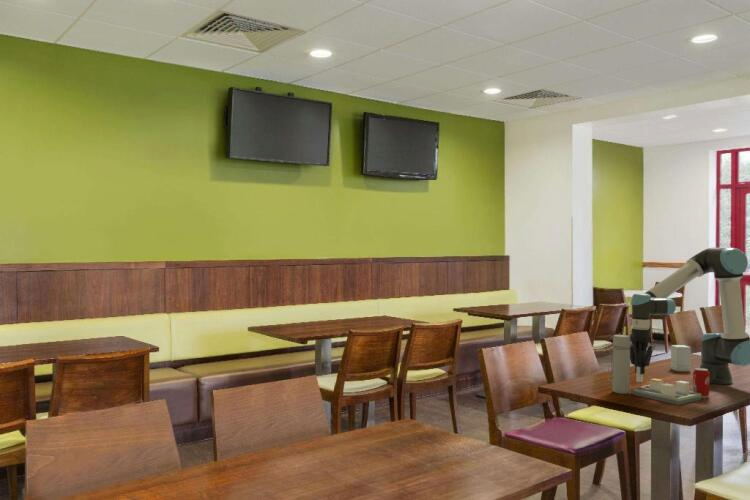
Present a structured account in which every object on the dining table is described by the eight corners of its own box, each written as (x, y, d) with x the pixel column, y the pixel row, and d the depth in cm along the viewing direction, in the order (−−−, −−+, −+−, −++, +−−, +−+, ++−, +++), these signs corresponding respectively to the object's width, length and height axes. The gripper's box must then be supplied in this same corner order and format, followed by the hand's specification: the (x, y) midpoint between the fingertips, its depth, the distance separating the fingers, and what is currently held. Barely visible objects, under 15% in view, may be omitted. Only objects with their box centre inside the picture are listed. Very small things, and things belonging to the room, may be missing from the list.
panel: (653, 389, 293) (653, 383, 293) (701, 399, 275) (701, 393, 275) (630, 393, 284) (630, 388, 284) (678, 404, 266) (678, 398, 266)
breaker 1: (666, 395, 276) (666, 383, 276) (675, 397, 272) (675, 385, 272) (661, 396, 273) (661, 384, 273) (670, 398, 270) (670, 386, 270)
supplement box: (690, 371, 336) (691, 347, 335) (676, 371, 336) (677, 347, 335) (684, 368, 343) (684, 344, 343) (670, 368, 343) (670, 344, 343)
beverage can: (710, 398, 277) (711, 370, 277) (695, 397, 278) (695, 370, 278) (706, 395, 283) (707, 367, 283) (690, 394, 284) (691, 367, 284)
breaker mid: (654, 389, 286) (655, 378, 286) (663, 391, 283) (663, 379, 282) (649, 390, 284) (649, 379, 284) (658, 392, 280) (658, 380, 280)
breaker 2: (680, 392, 282) (680, 380, 282) (689, 394, 278) (689, 382, 278) (675, 393, 279) (675, 381, 279) (684, 395, 276) (684, 383, 276)
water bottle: (630, 391, 289) (631, 335, 288) (629, 395, 282) (630, 337, 281) (608, 389, 293) (609, 333, 292) (606, 392, 285) (607, 336, 285)
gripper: (622, 327, 293) (621, 379, 293) (648, 330, 282) (647, 384, 282) (632, 326, 297) (631, 377, 297) (658, 329, 286) (658, 383, 287)
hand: (639, 381), depth 290 cm, fingers closed
